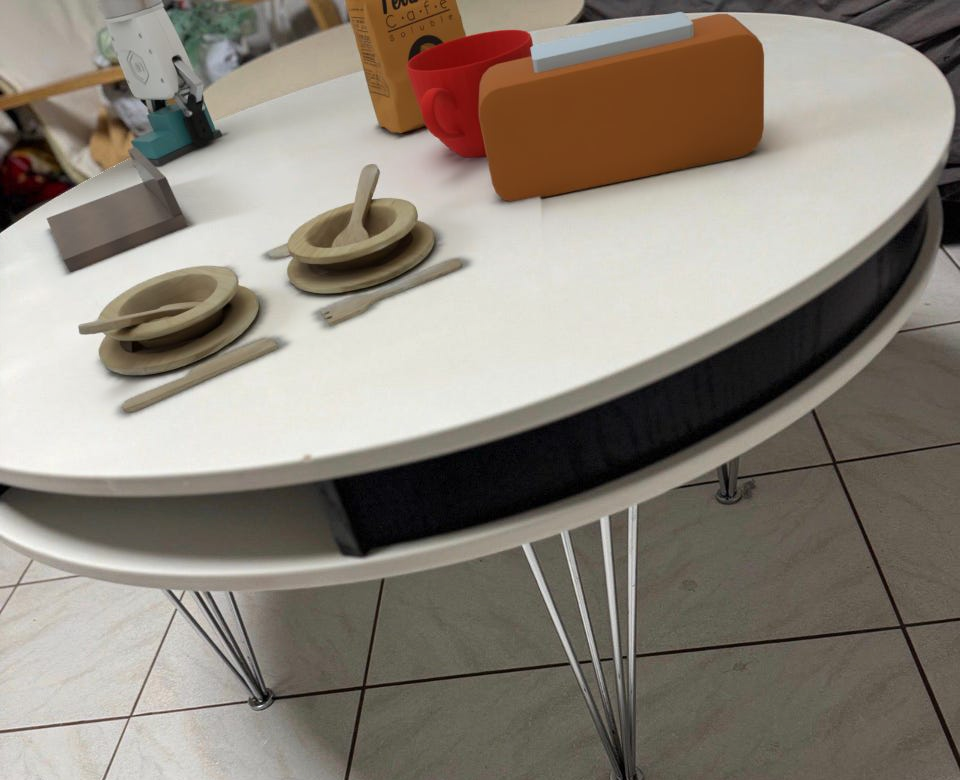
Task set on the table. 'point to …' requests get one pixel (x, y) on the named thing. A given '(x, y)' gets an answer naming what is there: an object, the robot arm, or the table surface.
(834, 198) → the table surface
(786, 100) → the table surface
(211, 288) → the tableware set
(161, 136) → the teal l-shaped block
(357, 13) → the coffee package
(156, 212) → the brown l-shaped piece
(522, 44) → the ceramic cup
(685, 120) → the alarm clock
